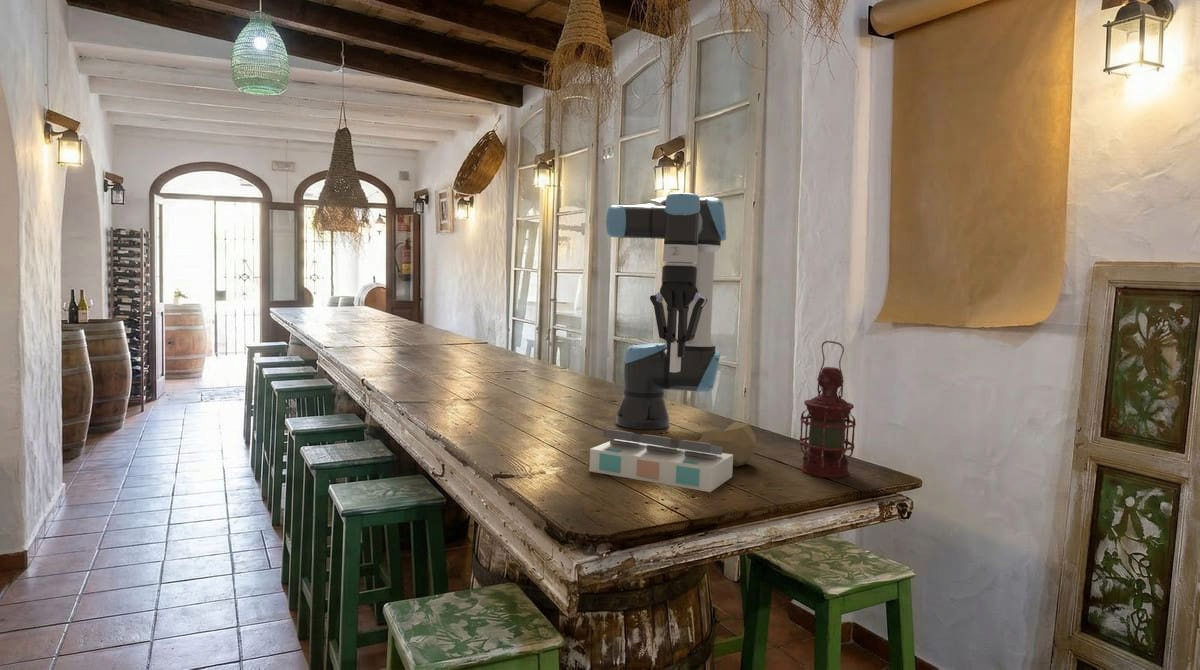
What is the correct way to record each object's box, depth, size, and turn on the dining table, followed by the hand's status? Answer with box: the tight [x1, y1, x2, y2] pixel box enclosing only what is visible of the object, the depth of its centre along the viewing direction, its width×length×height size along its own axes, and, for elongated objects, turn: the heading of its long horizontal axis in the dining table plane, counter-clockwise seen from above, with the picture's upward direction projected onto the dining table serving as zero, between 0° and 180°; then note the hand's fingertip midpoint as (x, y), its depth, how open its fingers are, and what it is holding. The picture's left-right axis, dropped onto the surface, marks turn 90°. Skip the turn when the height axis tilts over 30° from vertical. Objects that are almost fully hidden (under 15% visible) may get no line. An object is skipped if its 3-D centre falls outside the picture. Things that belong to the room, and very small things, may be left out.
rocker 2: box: [678, 439, 723, 455], centre depth 171 cm, size 8×7×2 cm
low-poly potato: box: [697, 421, 757, 468], centre depth 186 cm, size 15×11×12 cm
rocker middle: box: [640, 433, 680, 449], centre depth 175 cm, size 8×7×2 cm
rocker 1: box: [602, 428, 641, 443], centre depth 179 cm, size 8×7×2 cm
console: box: [588, 439, 734, 493], centre depth 175 cm, size 14×28×6 cm, turn 62°
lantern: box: [798, 340, 857, 479], centre depth 181 cm, size 12×12×30 cm
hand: (675, 371), depth 177 cm, fingers closed
